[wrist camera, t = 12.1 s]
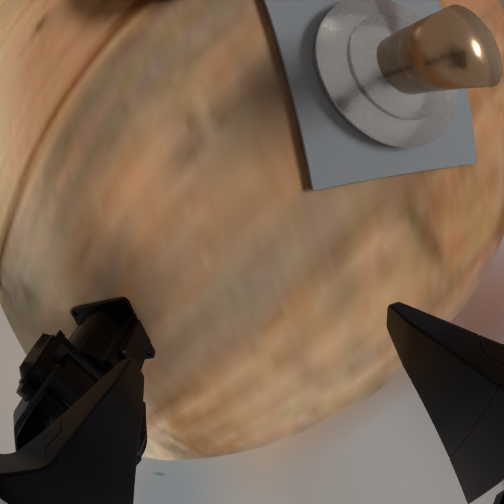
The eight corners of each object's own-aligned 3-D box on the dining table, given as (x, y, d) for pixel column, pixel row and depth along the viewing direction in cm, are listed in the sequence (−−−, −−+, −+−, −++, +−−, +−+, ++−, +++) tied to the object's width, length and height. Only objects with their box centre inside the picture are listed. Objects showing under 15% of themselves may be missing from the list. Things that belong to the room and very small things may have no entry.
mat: (311, 188, 19) (313, 190, 18) (258, -14, 13) (258, -18, 12) (472, 162, 18) (476, 163, 18) (433, -1, 12) (436, -3, 12)
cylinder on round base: (297, 117, 16) (351, 99, 8) (325, -20, 12) (372, -85, 4) (438, 168, 18) (523, 194, 10) (453, 44, 13) (528, 29, 5)
